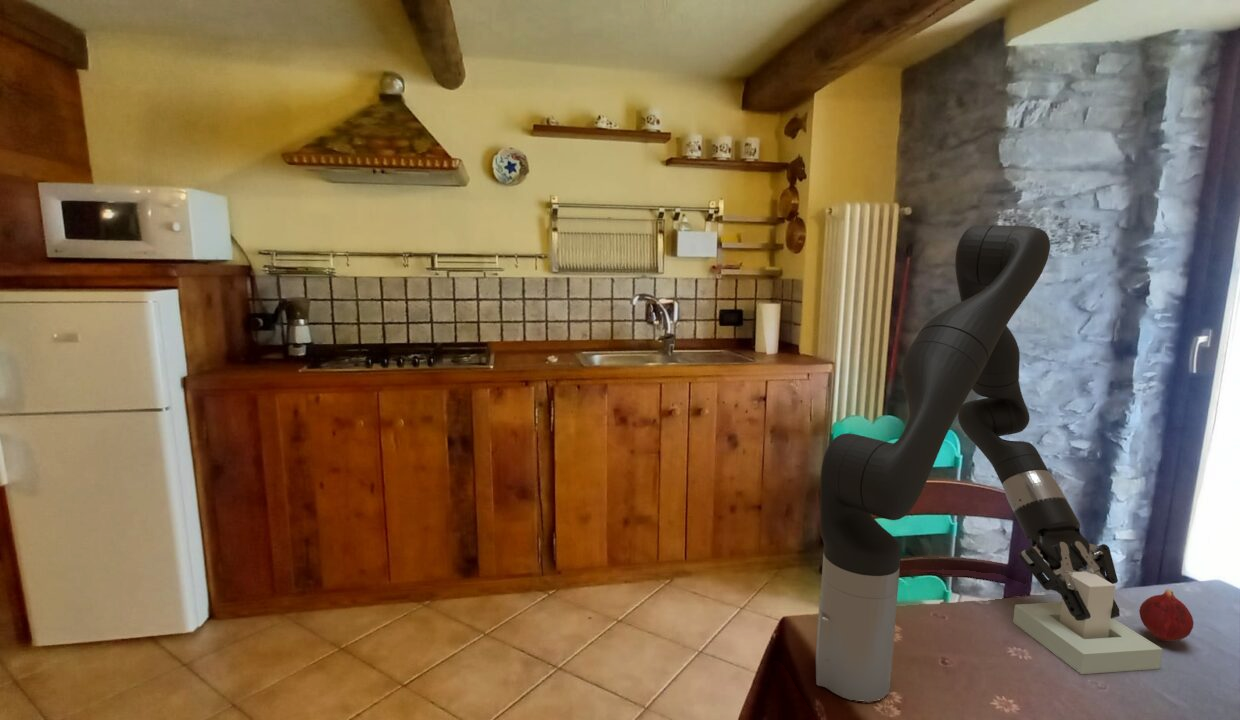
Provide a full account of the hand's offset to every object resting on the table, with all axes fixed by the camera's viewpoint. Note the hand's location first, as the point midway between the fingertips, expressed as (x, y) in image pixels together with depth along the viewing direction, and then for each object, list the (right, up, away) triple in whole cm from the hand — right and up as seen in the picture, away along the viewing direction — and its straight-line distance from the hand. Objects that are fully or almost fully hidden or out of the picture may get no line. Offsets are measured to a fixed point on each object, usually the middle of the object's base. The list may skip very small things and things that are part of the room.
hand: (1098, 617), depth 83 cm
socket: (0, -5, +3) cm, 6 cm away
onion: (+13, -5, +4) cm, 14 cm away
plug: (0, -4, +3) cm, 5 cm away
